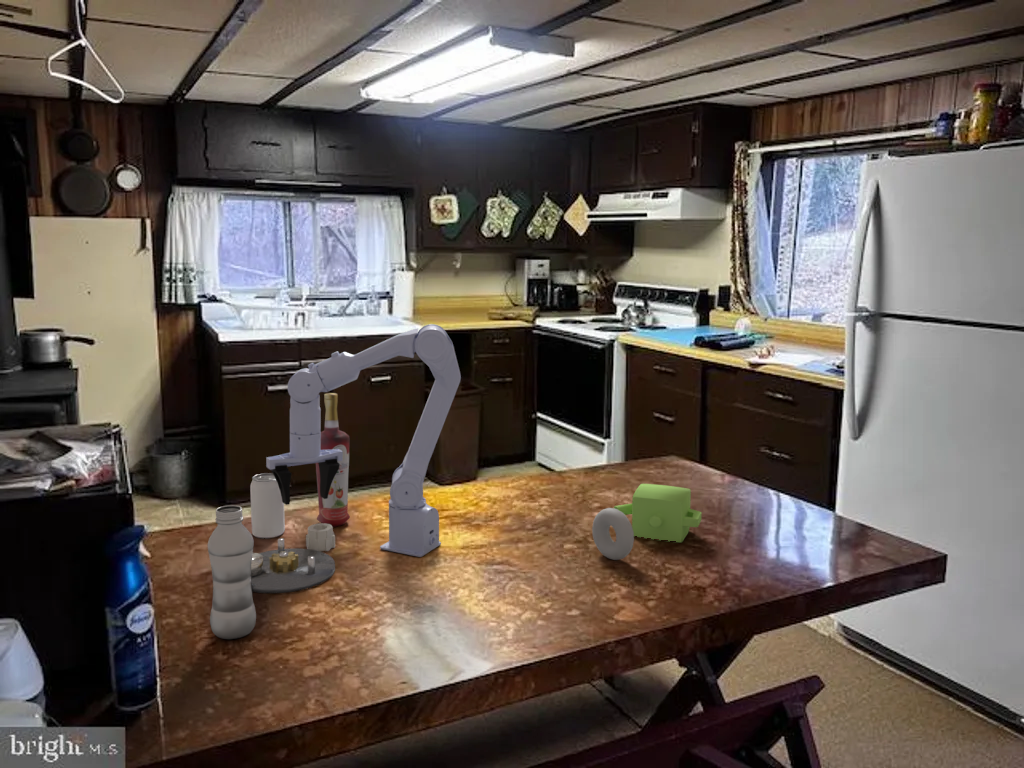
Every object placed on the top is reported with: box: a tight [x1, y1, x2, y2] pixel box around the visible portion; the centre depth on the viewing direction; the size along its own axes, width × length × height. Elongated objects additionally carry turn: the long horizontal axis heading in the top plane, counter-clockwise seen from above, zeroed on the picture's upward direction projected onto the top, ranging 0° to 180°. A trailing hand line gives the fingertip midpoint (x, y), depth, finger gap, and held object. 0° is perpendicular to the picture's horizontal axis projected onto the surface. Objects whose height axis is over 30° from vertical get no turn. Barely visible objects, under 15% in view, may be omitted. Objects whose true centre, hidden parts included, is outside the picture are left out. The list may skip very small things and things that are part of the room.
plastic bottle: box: [207, 504, 257, 640], centre depth 123 cm, size 6×7×20 cm
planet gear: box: [305, 522, 336, 552], centre depth 160 cm, size 5×5×4 cm
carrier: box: [250, 537, 336, 594], centre depth 147 cm, size 19×20×4 cm
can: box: [249, 472, 286, 540], centre depth 166 cm, size 6×6×12 cm
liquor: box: [315, 392, 351, 528], centre depth 171 cm, size 7×7×28 cm
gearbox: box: [613, 483, 703, 543], centre depth 170 cm, size 18×10×10 cm, turn 68°
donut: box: [591, 507, 635, 561], centre depth 157 cm, size 10×4×10 cm, turn 37°
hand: (305, 500), depth 158 cm, fingers open, 7 cm apart
